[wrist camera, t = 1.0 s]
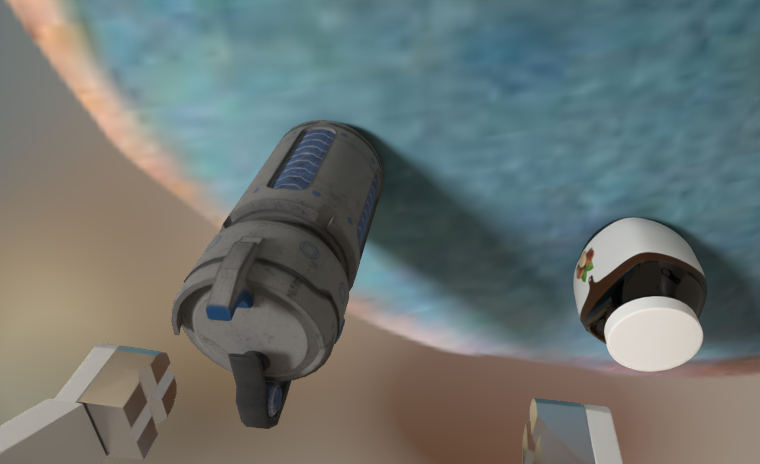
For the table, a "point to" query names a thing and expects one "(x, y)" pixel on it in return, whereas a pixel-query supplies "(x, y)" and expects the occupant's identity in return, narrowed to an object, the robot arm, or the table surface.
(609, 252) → the spread jar
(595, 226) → the table surface
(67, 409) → the robot arm
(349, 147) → the beverage bottle
